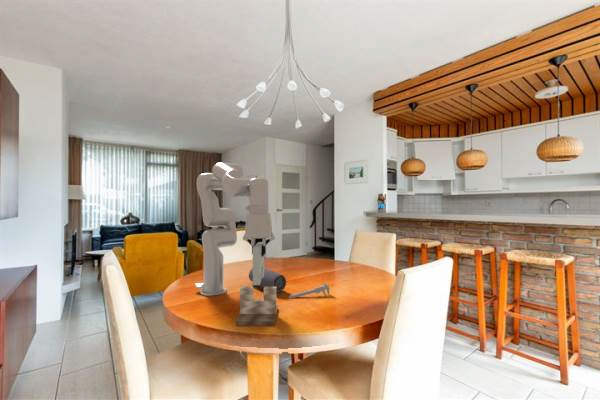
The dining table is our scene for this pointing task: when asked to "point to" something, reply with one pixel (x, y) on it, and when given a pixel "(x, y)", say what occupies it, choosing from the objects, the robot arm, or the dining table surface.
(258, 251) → the slotted plate
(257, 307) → the slotted stand
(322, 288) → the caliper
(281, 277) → the bluetooth speaker
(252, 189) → the robot arm
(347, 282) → the dining table surface
